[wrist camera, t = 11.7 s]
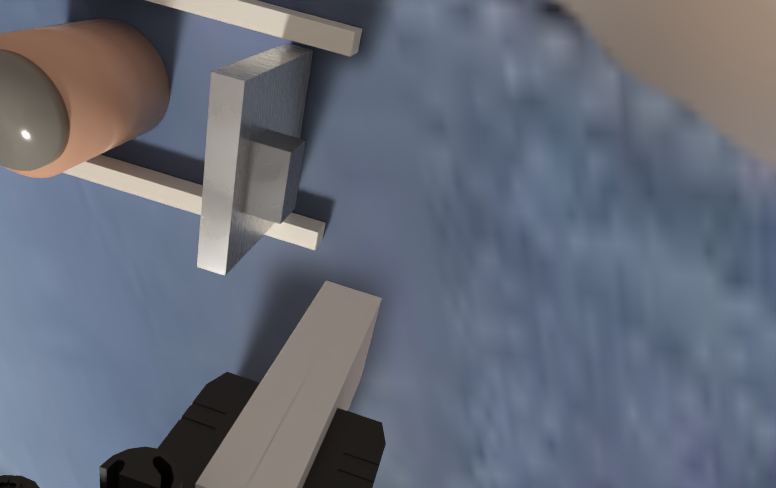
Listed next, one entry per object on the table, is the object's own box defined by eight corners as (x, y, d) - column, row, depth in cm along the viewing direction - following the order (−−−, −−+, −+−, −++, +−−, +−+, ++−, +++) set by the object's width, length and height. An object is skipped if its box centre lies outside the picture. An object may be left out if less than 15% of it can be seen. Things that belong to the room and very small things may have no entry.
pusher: (266, 201, 30) (197, 266, 23) (287, 43, 26) (211, 71, 20) (319, 217, 29) (263, 287, 23) (348, 59, 26) (289, 94, 20)
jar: (167, 148, 30) (73, 199, 24) (67, 118, 30) (-51, 160, 24) (172, 35, 27) (68, 60, 21) (62, 4, 28) (-71, 19, 22)
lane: (-108, 108, 32) (-185, 127, 29) (-149, -110, 27) (-249, -119, 24) (322, 239, 30) (294, 277, 27) (362, 28, 25) (334, 41, 22)
